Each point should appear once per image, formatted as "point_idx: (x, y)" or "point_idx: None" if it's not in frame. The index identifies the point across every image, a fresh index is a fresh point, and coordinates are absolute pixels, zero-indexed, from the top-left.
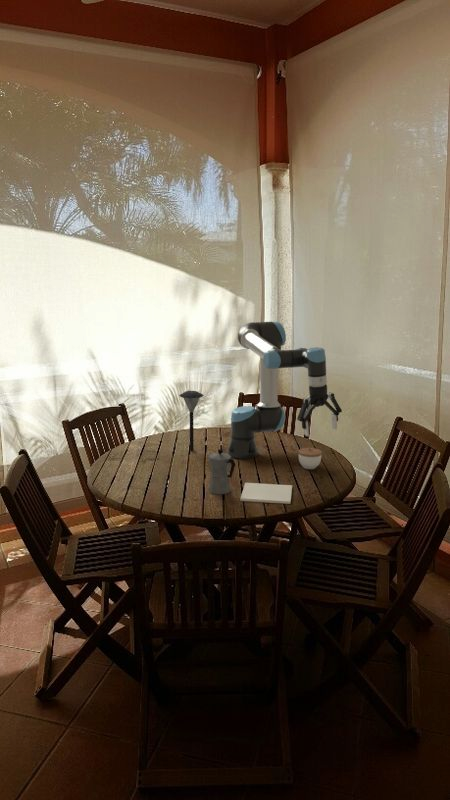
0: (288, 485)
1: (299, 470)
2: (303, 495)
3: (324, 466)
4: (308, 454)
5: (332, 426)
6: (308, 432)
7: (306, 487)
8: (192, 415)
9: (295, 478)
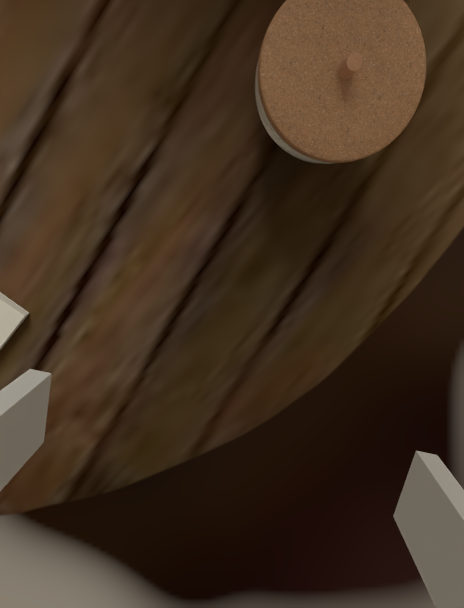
0: (5, 307)
1: (223, 118)
2: None
3: None
4: (282, 130)
5: (424, 469)
6: (15, 469)
7: (98, 344)
8: None
9: (124, 213)
